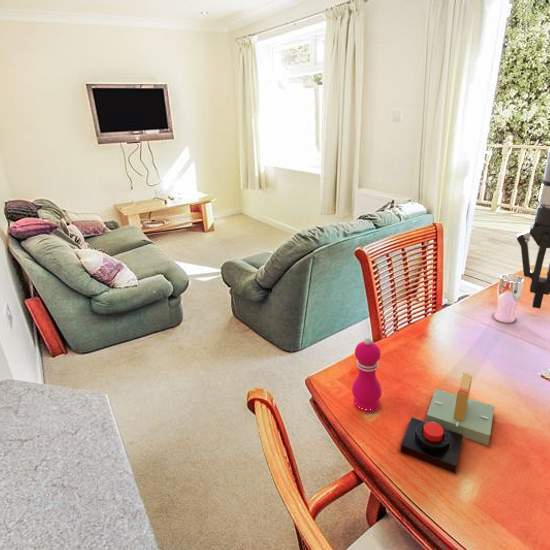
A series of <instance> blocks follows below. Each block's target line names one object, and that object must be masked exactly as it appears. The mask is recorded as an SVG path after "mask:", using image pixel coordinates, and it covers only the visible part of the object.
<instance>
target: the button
mask: <svg viewBox="0 0 550 550" xmlns="http://www.w3.org/2000/svg"><path fill="white" fill-rule="evenodd" d="M443 433H444V430H443V428H442V427H441V426H440V425H439V424H437V423H435V422H427V423H426V424H425V425H424V428H423V435H424V437H425V438H426V439H427V440H429V441H431V442H440V441H441V440H442V439H443Z"/></svg>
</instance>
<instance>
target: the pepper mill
mask: <svg viewBox="0 0 550 550" xmlns="http://www.w3.org/2000/svg"><path fill="white" fill-rule="evenodd" d="M381 353H382V352H381V348H380V347H379V345H378V344H377V343H375V342H374V341H372V338H371V337H368V336H367V337H365V338H364V339H363V341H362V340H361V342H359V343H357V345H356V346H355V348H354V356H355V358H356V367H357V368H358V374H357V376H355V377H356V378H355V379H354V381H353V383H352V386H351V387H352V388H351V393H352V396H353V405H354V407H355V408H356V409H357V410H359V411H360V412H363V413H373V412H375V411H377V410H378V408H379V406H380V398H381V396H382V386H381V383H380V381H379V379H378V377H377V374H376V371H377V369H378V368H379V360H380V359H381ZM355 403H356V404H355ZM358 406H359V407H360V408H359V407H358ZM361 408H363V409H361ZM365 409H367V410H365ZM370 409H371V410H370Z"/></svg>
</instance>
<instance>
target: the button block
mask: <svg viewBox="0 0 550 550" xmlns="http://www.w3.org/2000/svg"><path fill="white" fill-rule="evenodd" d="M431 422H432V421H431ZM426 423H427V422H426V421H424V420H421V419H418V418H415V417H411V418H410V421H409V423H408V426H407V429H406V431H405V434H404V436H403V438H402V441H401V444H400V453H401V454H405V455H407V456H410V457H412V458H415V459H417V460H420V461H422V462H425V463H427V464H430V465H432V466H435V467H438V468H440V469H442V470H445V471H447V472H450V473H452V474H456V471H457V467H458V461H459V457H460V453H461V449H462V448H461V447H462V443H463V438H464V437H463V435H462V434H459V433H456V432H453V431H450V430H448V429H446V428H445V427H443V426H442V425H441V424H439V425H440V426H441V427H442V428H443V430H444V433H443V439H442V440H441V441H440V442H431V441H429V440H427V439H426V438H425V437H424V435H423V428H424V425H425V424H426ZM437 424H438V423H437Z"/></svg>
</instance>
